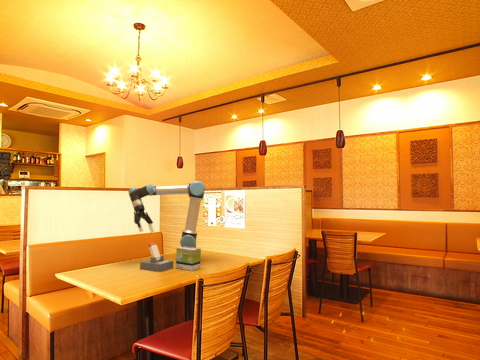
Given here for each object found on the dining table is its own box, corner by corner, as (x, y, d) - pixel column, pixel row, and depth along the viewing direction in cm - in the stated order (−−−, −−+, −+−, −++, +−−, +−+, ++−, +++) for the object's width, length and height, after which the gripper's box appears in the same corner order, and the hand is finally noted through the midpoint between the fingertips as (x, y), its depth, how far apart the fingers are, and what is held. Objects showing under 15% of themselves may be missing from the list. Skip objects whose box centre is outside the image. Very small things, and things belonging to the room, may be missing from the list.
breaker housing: (140, 269, 214) (140, 257, 214) (153, 265, 227) (153, 254, 227) (160, 272, 206) (161, 259, 207) (173, 268, 219) (173, 256, 220)
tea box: (175, 268, 218) (175, 247, 219) (184, 266, 227) (184, 246, 228) (192, 271, 211) (192, 249, 212) (200, 268, 220) (201, 247, 220)
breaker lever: (153, 262, 214) (147, 244, 217) (159, 260, 220) (153, 243, 223) (156, 260, 213) (150, 243, 217) (161, 259, 219) (156, 242, 222)
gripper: (144, 210, 246) (153, 234, 239) (123, 207, 222) (132, 233, 216) (151, 206, 244) (160, 230, 238) (131, 202, 221) (141, 228, 214)
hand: (147, 231), depth 227 cm, fingers open, 13 cm apart
